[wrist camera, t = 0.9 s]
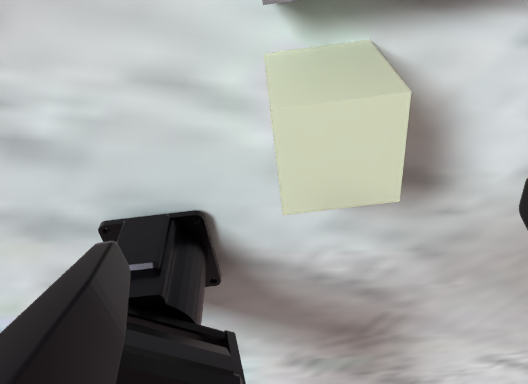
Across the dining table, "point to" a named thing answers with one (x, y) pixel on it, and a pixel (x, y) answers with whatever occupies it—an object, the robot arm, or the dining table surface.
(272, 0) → the tray
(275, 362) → the dining table surface
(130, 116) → the dining table surface
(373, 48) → the green block
